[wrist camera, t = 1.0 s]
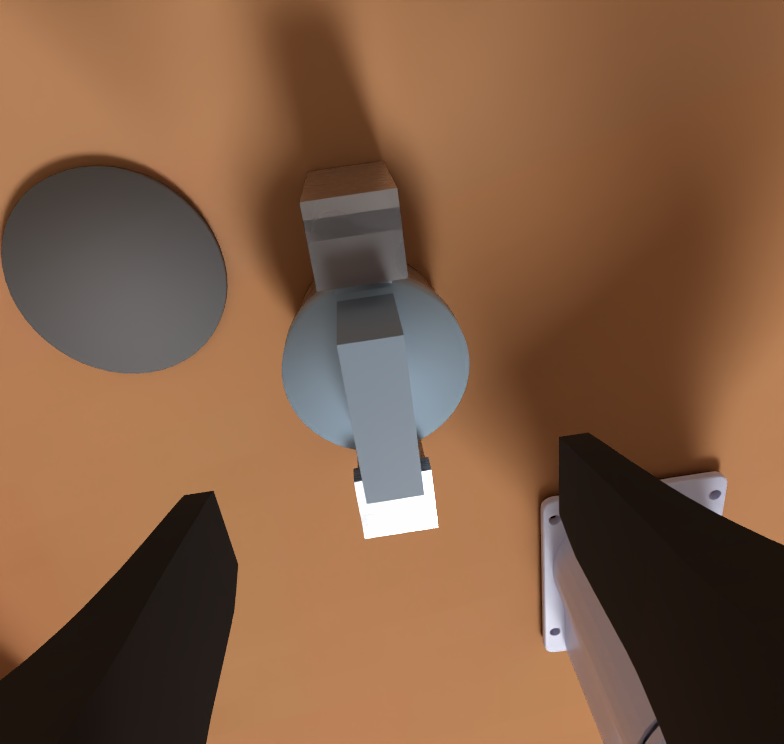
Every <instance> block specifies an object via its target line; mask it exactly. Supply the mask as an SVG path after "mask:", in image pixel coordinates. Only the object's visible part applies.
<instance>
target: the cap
mask: <svg viewBox="0 0 784 744" xmlns="http://www.w3.org/2000/svg"><path fill="white" fill-rule="evenodd" d="M468 375H469V353H468V347H467V344H466V341H465V337H464V335H463V333H462V331H461V329H460V327H459V325H458V323H457V321H456V319H455V316H454V314H453V313H452V311H451V310H450V308H449V307H448V305H447V304H446V303H445V302H444V301H443V300H442V299H441V298H440V297H439V296H438V295H437V294H436V293H435V292H434V291H432V290H431V289H430V288H428V287H426V286H425V285H423V284H422V283H420V282H418V281H415V280H413V279H411V278H406V279H400V280H393V281H386V282H380V283H373V284H366V285H360V286H353V287H346V288H340V289H333V290H326V291H319V292H316V293H315V294H314V295H313V296H312V297H311V298H309V299H308V300H307V301H306V303H305V304H304V305H303V306H302V307H301V308H300V310H299V311H298V313H297V315H296V316H295V318H294V319H293V322H292V324H291V326H290V328H289V331H288V335H287V338H286V343H285V348H284V353H283V360H282V379H283V385H284V389H285V392H286V395H287V398H288V400H289V402H290V404H291V406H292V408H293V409H294V411H295V412H296V414H297V415H298V417H299V418H300V419H301V420H302V421H303V422H304V423H305V425H307V426H308V427H309V428H310V429H311V430H312V431H313V432H315V433H316V434H318V435H319V436H321V437H322V438H324V439H326V440H328V441H330V442H332V443H335V444H337V445H340V446H343V447H347V448H351V449H355V450H356V451H357V456H358V462H359V467H360V472H361V478H362V483H363V488H364V494H365V499H366V504H373V503H379V502H385V501H392V500H398V499H405V498H411V497H418V496H424V495H425V494H424V486H423V479H422V471H421V463H420V456H419V448H418V440H421V439H422V438H424V437H426V436H427V435H429V434H431V433H432V432H433V431H435V430H436V429H437V428H439V427H440V426H441V425H442V424H443V423H444V422H445V421H446V420H447V419H448V418H449V417H450V415H451V414H452V413H453V412H454V410H455V409H456V407H457V406H458V404H459V402H460V401H461V398H462V396H463V394H464V391H465V388H466V385H467V381H468Z"/></svg>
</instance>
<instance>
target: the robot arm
mask: <svg viewBox="0 0 784 744" xmlns="http://www.w3.org/2000/svg"><path fill="white" fill-rule="evenodd" d="M726 488H727V479H726V478H725V477H724V475H723V474H722V473H720V472H718V471H712V472H706V473H699V474H693V475H686V476H680V477H674V478H667V479H661V480H659V479H657V478H656V477H654V476H653V475H651V474H650V473H648V472H647V471H645V470H643V469H642V468H640V467H639V466H637V465H636V464H634V463H633V462H631V461H630V460H628V459H627V458H625V457H624V456H622V455H621V454H620V453H618V452H617V451H615V450H614V449H612V448H611V447H609V446H608V445H606V444H605V443H603V442H602V441H600V440H599V439H597V438H596V437H594V436H593V435H591V434H590V433H583V434H576V435H570V436H563V437H559V496H552V497H549V498H547V499H545V500H544V501H543V502H542V504H541V563H542V622H543V643H544V646H545V649H546V650H547V651H550V652H558V651H564V650H567V652H568V655H569V657H570V660H571V662H572V665H573V667H574V670H575V672H576V675H577V677H578V680H579V682H580V685H581V687H582V690H583V692H584V695H585V698H586V700H587V703H588V705H589V708H590V710H591V713H592V715H593V718H594V720H595V723H596V725H597V728H598V730H599V733H600V735H601V738H602V740H603V743H604V744H784V545H782V544H780V543H777V542H775V541H773V540H770V539H768V538H766V537H764V536H762V535H760V534H758V533H756V532H753V531H751V530H749V529H747V528H745V527H743V526H741V525H739V524H737V523H735V522H733V521H731V520H729V519H727V518H725V517H723V516H722V513H723V507H724V500H725V494H726ZM714 490H715V491H714ZM712 491H714V492H713V493H711V492H712ZM710 493H711V494H710ZM554 515H557V516H556V517H555V518H552V519H549V518H550V517H551V516H554ZM237 572H238V563H237V560H236V557H235V554H234V551H233V548H232V545H231V542H230V539H229V536H228V533H227V530H226V527H225V524H224V521H223V518H222V515H221V512H220V509H219V506H218V503H217V500H216V497H215V494H214V491H209V492H203V493H196V494H190V495H184V496H183V497H182V498H181V499H180V500H179V502H178V503H177V504H176V505H175V506H174V507H173V508H172V510H171V511H170V512H169V513H168V514H167V515H166V517H165V518H164V519H163V520H162V521H161V522H160V524H159V525H158V526H157V527H156V528H155V530H154V531H153V532H152V533H151V534H150V535H149V537H148V538H147V539H146V540H145V541H144V542H143V543H142V545H141V546H140V547H139V548H138V549H137V550H136V551H135V553H134V554H133V555H132V556H131V557H130V558H129V559H128V561H127V562H126V563H125V564H124V565H123V566H122V567H121V569H120V570H119V571H118V572H117V573H116V574H115V575H114V576H113V577H112V578H111V579H110V580H109V581H108V582H107V583H106V584H105V585H104V586H103V587H102V588H101V590H100V591H99V592H98V593H97V594H96V595H95V596H94V597H93V598H92V599H91V600H90V601H89V602H88V603H87V604H86V605H85V606H84V607H83V608H82V609H81V610H80V611H79V612H78V613H77V614H76V615H75V616H74V617H73V618H72V619H71V620H70V621H69V622H68V623H67V624H66V625H65V626H64V627H63V628H61V629H60V630H59V631H58V632H57V633H56V634H55V635H54V636H53V637H51V638H50V639H49V640H48V641H47V642H46V643H45V644H44V645H43V646H41V647H40V648H39V649H38V650H37V651H36V652H35V653H33V654H32V655H31V656H30V657H29V658H28V659H26V660H25V661H24V662H23V663H22V664H20V665H19V666H18V667H17V668H15V669H14V670H13V671H12V672H10V673H9V674H8V675H7V676H5V677H4V678H3V679H2V680H0V744H206V741H207V736H208V730H209V725H210V719H211V715H212V710H213V706H214V701H215V697H216V692H217V688H218V683H219V679H220V674H221V670H222V665H223V661H224V656H225V652H226V647H227V642H228V638H229V633H230V628H231V624H232V619H233V614H234V607H235V597H236V586H237Z"/></svg>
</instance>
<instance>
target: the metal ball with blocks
mask: <svg viewBox="0 0 784 744" xmlns="http://www.w3.org/2000/svg"><path fill="white" fill-rule="evenodd" d="M299 203H300V208H301V213H302V218H303V223H304V228H305V234H306V239H307V244H308V249H309V254H310V259H311V264H312V269H313V275H314V281H313V283H312V284H311V286H310V287H309V289H308V290H307V292H306V294H305V297H304V299H303V302H302V306H303V305H304V304H305V303H306V301H307V300H308V299H309V298H311V297H312V296H313V295H314V294H315V293H316V292H319V291H326V290H333V289H340V288H346V287H353V286H360V285H366V284H373V283H380V282H386V281H393V280H400V279H406V278H411V279H413V280H415V281H418V282H420V283H422V284H423V285H425V286H426V287H428V288H430V289H431V287H430V285H429V284H428V282H427V281H426V280H425V279H424V277H423V276H422V275H421V274H420V273H419V272H418V271H416V270H415V269H414V268H413V267H411V266H410V265H408V264H406V256H405V247H404V239H403V231H402V222H401V214H400V206H399V197H398V189H397V186H396V184H395V182H394V181H393V179H392V177H391V175H390V173H389V171H388V169H387V167H386V165H385V163H384V162H383V161H378V162H371V163H364V164H357V165H350V166H344V167H337V168H330V169H323V170H316V171H309V172H308V174H307V178H306V181H305V185H304V188H303V192H302V195H301V198H300V202H299ZM431 290H432V289H431ZM302 306H301V307H302ZM418 448H419V456H420V463H421V471H422V479H423V486H424V494H425V495H424V496H418V497H411V498H405V499H398V500H392V501H385V502H379V503H373V504H366V499H365V494H364V488H363V483H362V478H361V472H360V467H359V462H358V468H355V469H354V484H355V489H356V494H357V500H358V505H359V510H360V515H361V520H362V525H363V530H364V535H365V539H366V538H372V537H379V536H385V535H392V534H398V533H404V532H411V531H417V530H424V529H430V528H436V527H438V522H437V514H436V505H435V497H434V489H433V480H432V472H431V467H430V463H429V459H428V457H426V458H425V456H424V452H423V448H422V443H421V440H418ZM357 459H358V456H357Z"/></svg>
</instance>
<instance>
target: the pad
mask: <svg viewBox="0 0 784 744" xmlns="http://www.w3.org/2000/svg"><path fill="white" fill-rule="evenodd" d="M1 255H2V267H3V272H4V276H5V280H6V283H7V286H8V289H9V291H10V294H11V296H12V298H13V300H14V302H15V304H16V306H17V308H18V309H19V310H20V312H21V313H22V315H23V316H24V318H25V319H26V320H27V322H28V323H29V324H30V325H31V326H32V327H33V329H34V330H35V331H36V332H37V333H38V334H39V335H40V336H42V337H43V338H44V339H45V340H46V341H47V342H48V343H50V344H51V345H52V346H54V347H55V348H56V349H58V350H59V351H61V352H63V353H64V354H66V355H67V356H69V357H71V358H73V359H75V360H77V361H79V362H81V363H84V364H86V365H89V366H92V367H95V368H98V369H102V370H106V371H111V372H118V373H148V372H154V371H158V370H163V369H166V368H169V367H172V366H174V365H176V364H178V363H180V362H182V361H184V360H186V359H188V358H189V357H190V356H192V355H193V354H195V353H196V352H197V351H198V350H199V349H200V348H201V347H202V346H204V344H205V343H206V342H207V341H208V339H209V338H210V337H211V336H212V334H213V332H214V331H215V329H216V327H217V326H218V323H219V321H220V319H221V316H222V314H223V311H224V307H225V303H226V297H227V273H226V267H225V262H224V258H223V255H222V253H221V250H220V247H219V245H218V243H217V240H216V238H215V236H214V234H213V233H212V231H211V230H210V228H209V226H208V225H207V223H206V222H205V220H204V219H203V218H202V217H201V216H200V214H199V213H198V212H197V211H196V210H195V209H194V208H193V207H192V206H191V205H190V204H189V203H188V202H187V201H186V200H185V199H184V198H183V197H181V196H180V195H179V194H177V193H176V192H175V191H174V190H172V189H171V188H169V187H167V186H166V185H164V184H162V183H161V182H159V181H157V180H155V179H153V178H150V177H148V176H146V175H144V174H141V173H138V172H135V171H131V170H128V169H123V168H118V167H112V166H85V167H78V168H74V169H69V170H66V171H63V172H60V173H58V174H55V175H52V176H50V177H48V178H46V179H44V180H43V181H41V182H39V183H37V184H36V185H35V186H34V187H32V188H31V189H30V190H29V191H27V192H26V193H25V194H24V196H23V197H22V198H21V199H20V200H19V201H18V202H17V204H16V206H15V207H14V209H13V210H12V212H11V214H10V216H9V218H8V221H7V223H6V226H5V230H4V234H3V239H2V251H1Z"/></svg>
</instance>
